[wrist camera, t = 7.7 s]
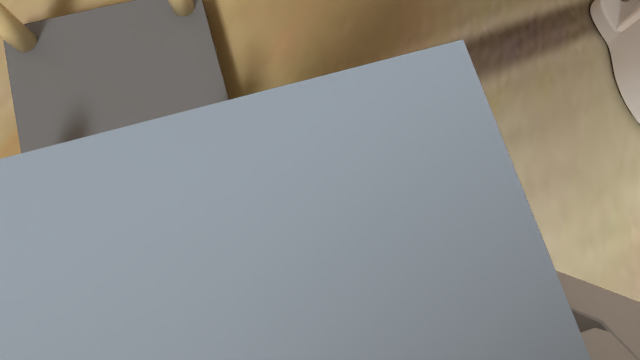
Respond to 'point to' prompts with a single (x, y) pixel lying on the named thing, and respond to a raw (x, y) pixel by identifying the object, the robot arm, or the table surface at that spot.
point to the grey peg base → (109, 68)
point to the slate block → (286, 231)
